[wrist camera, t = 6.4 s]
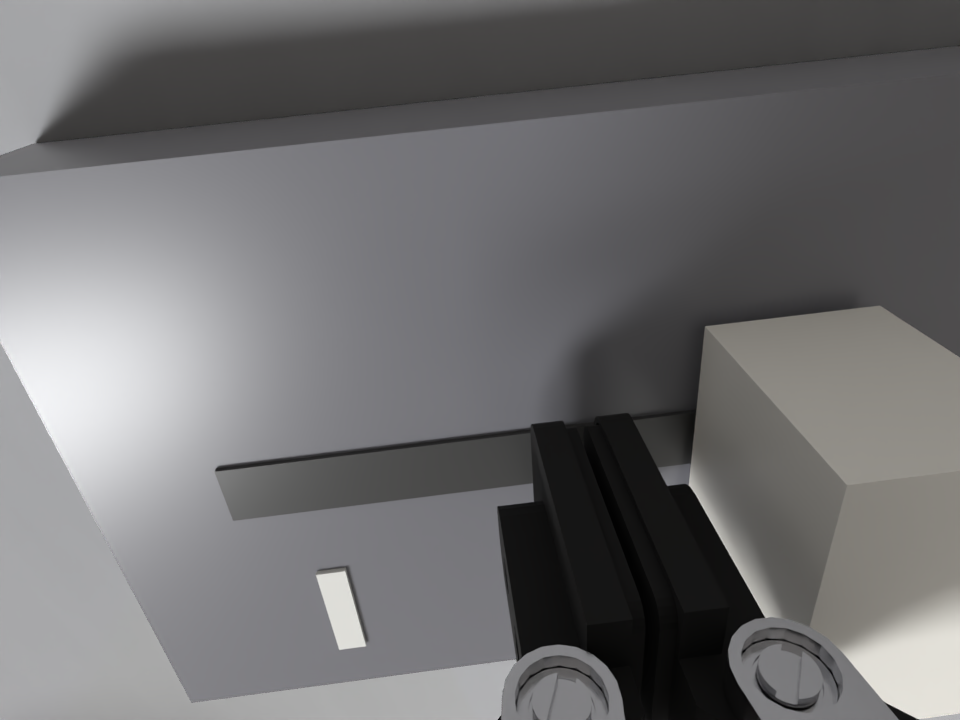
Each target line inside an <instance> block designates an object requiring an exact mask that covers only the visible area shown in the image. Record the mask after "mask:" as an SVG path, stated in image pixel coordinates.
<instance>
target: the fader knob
mask: <svg viewBox="0 0 960 720" xmlns="http://www.w3.org/2000/svg"><path fill="white" fill-rule="evenodd" d="M689 486H690V487H691V489H692V490H693V492H694V493H695V495H696V496H697V498H698V500H699V502H700V503H701V505H702V507H703V509H704V511H705V512H706V514H707V516H708V518H709V519H710V521H711V523H712V525H713V526H714V528H715V530H716V532H717V533H718V535H719V537H720V539H721V540H722V542H723V544H724V546H725V548H726V549H727V551H728V553H729V555H730V556H731V558H732V560H733V562H734V563H735V565H736V567H737V569H738V570H739V572H740V574H741V576H742V578H743V579H744V581H745V583H746V585H747V586H748V588H749V590H750V592H751V593H752V595H753V597H754V599H755V600H756V602H757V604H758V606H759V608H760V609H761V611H762V613H763V615H764V616H765V618H769V617H774V618H782V619H789V620H793V621H795V622H798V623H801V624H803V625H806V626H809V627H811V628H812V629H814V630H815V631H817V632H819V633H820V634H822V635H824V636H825V637H827V638H828V639H829V640H830V641H831V642H832V643H833V644H834V645H835V646H836V647H837V648H838V649H839V650H841V651H842V652H843V654H844V655H845V656H846V657H847V658H848V660H849V661H850V662H851V663H852V664H853V666H854V667H855V668H856V669H857V670H858V672H859V673H860V674H861V675H862V676H863V678H864V679H865V680H866V681H867V682H868V684H869V685H870V686H871V687H872V688H873V689H874V691H875V692H876V693H877V694H878V695H879V697H880V698H881V699H882V700H883V701H884V702H885V703H887V704H889V705H891V706H893V707H895V708H897V709H899V710H901V711H903V712H905V713H907V714H909V715H911V716H913V717H915V718H917V719H923V718H930V717H937V716H945V715H952V714H959V713H960V357H958V356H957V355H955V354H954V353H952V352H951V351H949V350H948V349H946V348H944V347H943V346H941V345H940V344H938V343H937V342H935V341H934V340H932V339H931V338H929V337H928V336H926V335H924V334H923V333H921V332H920V331H918V330H917V329H915V328H914V327H912V326H911V325H909V324H908V323H906V322H904V321H903V320H901V319H900V318H898V317H897V316H895V315H894V314H892V313H891V312H889V311H888V310H886V309H884V308H883V307H881V306H872V307H863V308H855V309H847V310H838V311H830V312H821V313H813V314H804V315H796V316H788V317H779V318H771V319H762V320H754V321H745V322H737V323H729V324H720V325H712V326H705V331H704V340H703V350H702V360H701V370H700V380H699V390H698V399H697V409H696V419H695V429H694V439H693V449H692V458H691V468H690V478H689Z"/></svg>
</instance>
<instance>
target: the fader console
mask: <svg viewBox="0 0 960 720" xmlns="http://www.w3.org/2000/svg"><path fill="white" fill-rule="evenodd" d="M872 306H881V307H883V308H884V309H886V310H888V311H889V312H891V313H892V314H894V315H895V316H897V317H898V318H900V319H901V320H903V321H904V322H906V323H908V324H909V325H911V326H912V327H914V328H915V329H917V330H918V331H920V332H921V333H923V334H924V335H926V336H928V337H929V338H931V339H932V340H934V341H935V342H937V343H938V344H940V345H941V346H943V347H944V348H946V349H948V350H949V351H951V352H952V353H954V354H955V355H957V356H958V357H960V46H953V47H943V48H934V49H925V50H915V51H906V52H896V53H887V54H877V55H868V56H858V57H849V58H839V59H830V60H820V61H811V62H802V63H792V64H783V65H773V66H764V67H754V68H745V69H735V70H726V71H716V72H707V73H697V74H688V75H679V76H669V77H660V78H650V79H641V80H631V81H622V82H612V83H603V84H593V85H584V86H574V87H565V88H556V89H546V90H537V91H527V92H518V93H508V94H499V95H489V96H480V97H470V98H461V99H451V100H442V101H433V102H423V103H414V104H404V105H395V106H385V107H376V108H366V109H357V110H347V111H338V112H328V113H319V114H310V115H300V116H291V117H281V118H272V119H262V120H253V121H243V122H234V123H224V124H215V125H205V126H196V127H187V128H177V129H168V130H158V131H149V132H139V133H130V134H120V135H111V136H101V137H92V138H82V139H73V140H64V141H54V142H45V143H35V144H31V145H28V146H25V147H23V148H20V149H17V150H14V151H11V152H9V153H6V154H3V155H0V342H1V344H2V346H3V348H4V350H5V352H6V354H7V356H8V357H9V359H10V361H11V363H12V365H13V367H14V369H15V371H16V373H17V374H18V376H19V378H20V380H21V382H22V384H23V386H24V388H25V390H26V391H27V393H28V395H29V397H30V399H31V401H32V403H33V405H34V406H35V408H36V410H37V412H38V414H39V416H40V418H41V420H42V422H43V423H44V425H45V427H46V429H47V431H48V433H49V435H50V437H51V439H52V440H53V442H54V444H55V446H56V448H57V450H58V452H59V454H60V456H61V457H62V459H63V461H64V463H65V465H66V467H67V469H68V471H69V472H70V474H71V476H72V478H73V480H74V482H75V484H76V486H77V488H78V489H79V491H80V493H81V495H82V497H83V499H84V501H85V503H86V505H87V506H88V508H89V510H90V512H91V514H92V516H93V518H94V520H95V522H96V523H97V525H98V527H99V529H100V531H101V533H102V535H103V537H104V538H105V540H106V542H107V544H108V546H109V548H110V550H111V552H112V554H113V555H114V557H115V559H116V561H117V563H118V565H119V567H120V569H121V571H122V572H123V574H124V576H125V578H126V580H127V582H128V584H129V586H130V588H131V589H132V591H133V593H134V595H135V597H136V599H137V601H138V603H139V604H140V606H141V608H142V610H143V612H144V614H145V616H146V618H147V620H148V621H149V623H150V625H151V627H152V629H153V631H154V633H155V635H156V637H157V638H158V640H159V642H160V644H161V646H162V648H163V650H164V652H165V653H166V655H167V657H168V659H169V661H170V663H171V665H172V667H173V669H174V670H175V672H176V674H177V676H178V678H179V680H180V682H181V684H182V686H183V687H184V689H185V691H186V693H187V695H188V697H189V699H190V701H191V703H193V702H201V701H208V700H216V699H223V698H231V697H238V696H245V695H253V694H260V693H268V692H275V691H283V690H290V689H298V688H305V687H312V686H320V685H327V684H335V683H342V682H350V681H357V680H365V679H372V678H379V677H387V676H394V675H402V674H409V673H417V672H424V671H432V670H439V669H446V668H454V667H461V666H469V665H476V664H484V663H491V662H499V661H506V660H513V659H516V654H515V647H514V641H513V634H512V627H511V621H510V614H509V607H508V601H507V594H506V587H505V580H504V573H503V565H502V556H501V547H500V537H499V526H498V514H497V506H504V505H512V504H521V503H529V502H534V496H533V475H532V455H531V434H530V427H531V424H536V423H544V422H553V421H563V422H564V424H565V427H566V428H574V427H576V428H577V430H578V433H579V435H580V438H581V441H582V443H583V446H584V427H585V426H592V425H594V420H595V417H596V416H605V415H613V414H622V413H628V414H630V416H631V417H632V419H633V421H634V423H635V425H636V427H637V429H638V431H639V433H640V435H641V437H642V438H643V440H644V442H645V444H646V446H647V448H648V450H649V452H650V454H651V456H652V458H653V460H654V462H655V464H656V466H657V467H658V469H659V471H660V473H661V475H662V477H663V479H664V481H665V483H666V485H667V486H670V485H678V484H687V485H688V486H689V478H690V468H691V458H692V449H693V439H694V429H695V419H696V409H697V399H698V390H699V380H700V370H701V360H702V350H703V340H704V331H705V326H712V325H720V324H729V323H737V322H745V321H754V320H762V319H771V318H779V317H788V316H796V315H804V314H813V313H821V312H830V311H838V310H847V309H855V308H863V307H872Z"/></svg>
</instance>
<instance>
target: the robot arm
mask: <svg viewBox="0 0 960 720" xmlns="http://www.w3.org/2000/svg"><path fill="white" fill-rule="evenodd" d="M530 434H531V455H532V475H533V496H534V502H529V503H521V504H512V505H504V506H497V514H498V526H499V537H500V547H501V556H502V565H503V573H504V580H505V587H506V594H507V601H508V607H509V614H510V621H511V627H512V634H513V641H514V647H515V654H516V660H517V663H516V664H514V666H513V667H512V669H511V671H510V673H509V674H508V676H507V678H506V680H505V684H504V689H503V694H502V711H501V716H500V718H499V719H498V720H918V719H917V718H915V717H913V716H911V715H909V714H907V713H905V712H903V711H901V710H899V709H897V708H895V707H893V706H891V705H889V704H887V703H885V702H884V701H883V700H882V699H881V698H880V697H879V695H878V694H877V693H876V692H875V691H874V689H873V688H872V687H871V686H870V685H869V684H868V682H867V681H866V680H865V679H864V678H863V676H862V675H861V674H860V673H859V672H858V670H857V669H856V668H855V667H854V666H853V664H852V663H851V662H850V661H849V660H848V658H847V657H846V656H845V655H844V654H843V652H842V651H841V650H839V649H838V648H837V647H836V646H835V645H834V644H833V643H832V642H831V641H830V640H829V639H828V638H827V637H825V636H824V635H822V634H820V633H819V632H817V631H815V630H814V629H812V628H811V627H809V626H806V625H803V624H801V623H798V622H795V621H793V620H789V619H782V618H774V617H769V618H765V616H764V615H763V613H762V611H761V609H760V608H759V606H758V604H757V602H756V600H755V599H754V597H753V595H752V593H751V592H750V590H749V588H748V586H747V585H746V583H745V581H744V579H743V578H742V576H741V574H740V572H739V570H738V569H737V567H736V565H735V563H734V562H733V560H732V558H731V556H730V555H729V553H728V551H727V549H726V548H725V546H724V544H723V542H722V540H721V539H720V537H719V535H718V533H717V532H716V530H715V528H714V526H713V525H712V523H711V521H710V519H709V518H708V516H707V514H706V512H705V511H704V509H703V507H702V505H701V503H700V502H699V500H698V498H697V496H696V495H695V493H694V492H693V490H692V489H691V487H690V486H688V485H687V484H678V485H670V486H667V485H666V483H665V481H664V479H663V477H662V475H661V473H660V471H659V469H658V467H657V466H656V464H655V462H654V460H653V458H652V456H651V454H650V452H649V450H648V448H647V446H646V444H645V442H644V440H643V438H642V437H641V435H640V433H639V431H638V429H637V427H636V425H635V423H634V421H633V419H632V417H631V416H630V414H628V413H622V414H613V415H605V416H596V417H595V420H594V425H592V426H585V427H584V446H583V443H582V441H581V438H580V435H579V433H578V430H577V428H576V427H574V428H566V427H565V424H564V422H563V421H553V422H544V423H536V424H531V427H530Z"/></svg>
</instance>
